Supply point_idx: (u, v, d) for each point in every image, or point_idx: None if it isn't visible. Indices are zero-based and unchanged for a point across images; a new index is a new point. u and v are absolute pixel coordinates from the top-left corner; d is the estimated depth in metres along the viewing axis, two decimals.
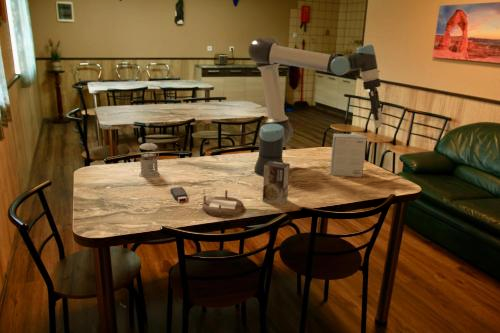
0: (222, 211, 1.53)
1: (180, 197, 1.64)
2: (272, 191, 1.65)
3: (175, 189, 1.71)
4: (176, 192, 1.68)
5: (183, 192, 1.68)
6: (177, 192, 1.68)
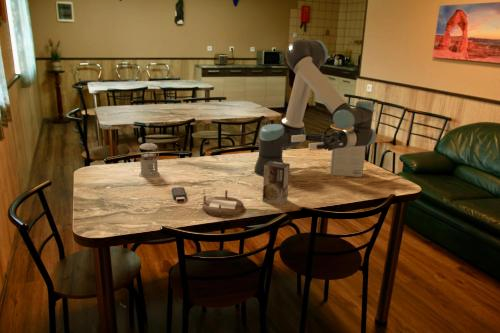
0: (222, 211, 1.53)
1: (178, 197, 1.64)
2: (272, 191, 1.65)
3: (176, 189, 1.71)
4: (175, 192, 1.68)
5: (182, 192, 1.68)
6: (177, 192, 1.68)
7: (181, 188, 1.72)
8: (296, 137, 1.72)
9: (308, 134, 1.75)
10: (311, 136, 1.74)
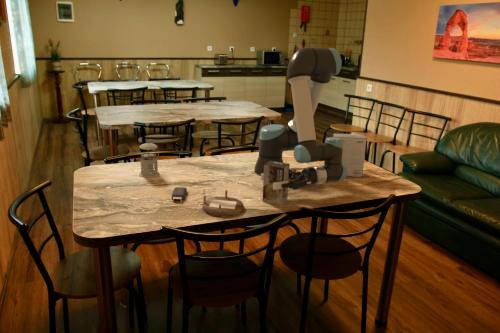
0: (222, 211, 1.53)
1: (175, 197, 1.64)
2: (272, 191, 1.65)
3: (177, 189, 1.71)
4: (175, 192, 1.68)
5: (181, 193, 1.67)
6: (176, 192, 1.68)
7: (183, 188, 1.72)
8: None
9: None
10: None
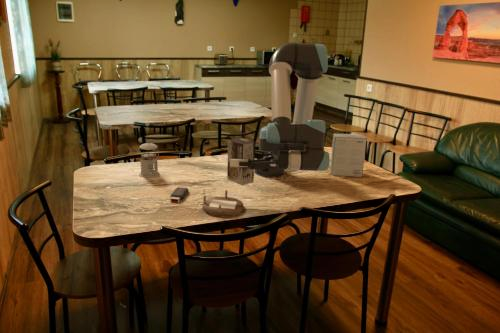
0: (222, 211, 1.53)
1: (173, 197, 1.64)
2: (233, 169, 1.54)
3: (178, 189, 1.71)
4: (175, 192, 1.68)
5: (181, 193, 1.67)
6: (176, 192, 1.68)
7: (184, 189, 1.72)
8: None
9: None
10: None
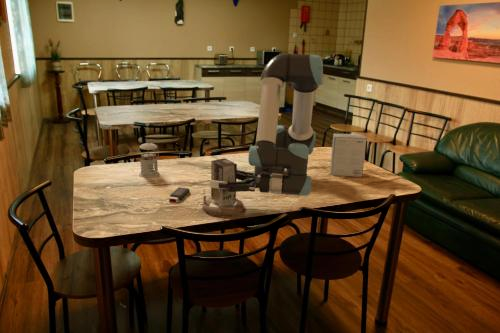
0: (222, 211, 1.53)
1: (172, 197, 1.64)
2: (216, 189, 1.56)
3: (178, 189, 1.71)
4: (175, 192, 1.68)
5: (180, 193, 1.67)
6: (175, 192, 1.68)
7: (184, 189, 1.71)
8: None
9: (237, 172, 1.61)
10: (238, 174, 1.60)
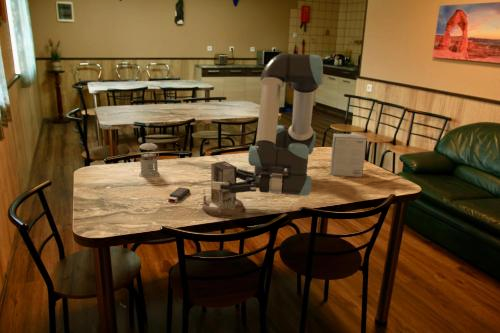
0: (222, 211, 1.53)
1: (171, 197, 1.64)
2: (216, 192, 1.56)
3: (179, 189, 1.71)
4: (174, 192, 1.68)
5: (179, 193, 1.67)
6: (175, 192, 1.68)
7: (184, 189, 1.71)
8: None
9: (239, 171, 1.62)
10: (240, 174, 1.61)
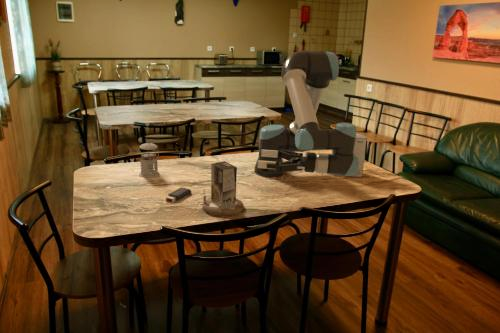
0: (222, 211, 1.53)
1: (169, 196, 1.64)
2: (216, 192, 1.56)
3: (179, 189, 1.71)
4: (174, 191, 1.68)
5: (178, 193, 1.66)
6: (175, 192, 1.68)
7: (185, 190, 1.71)
8: (266, 152, 1.61)
9: (282, 151, 1.61)
10: (283, 153, 1.59)
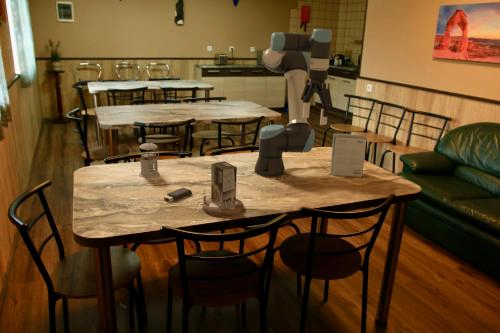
0: (222, 211, 1.53)
1: (167, 196, 1.65)
2: (216, 192, 1.56)
3: (180, 189, 1.71)
4: (174, 191, 1.68)
5: (177, 194, 1.66)
6: (174, 192, 1.68)
7: (185, 190, 1.70)
8: None
9: (328, 103, 1.62)
10: None
